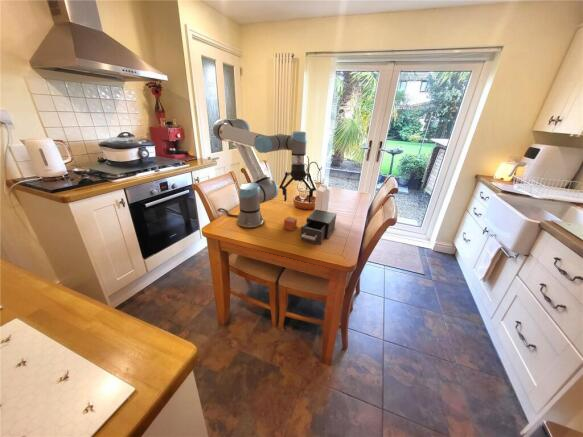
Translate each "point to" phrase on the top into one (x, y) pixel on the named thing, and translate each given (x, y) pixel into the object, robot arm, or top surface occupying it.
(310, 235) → the grey drawer
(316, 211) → the small drawer unit
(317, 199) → the milk
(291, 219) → the block
